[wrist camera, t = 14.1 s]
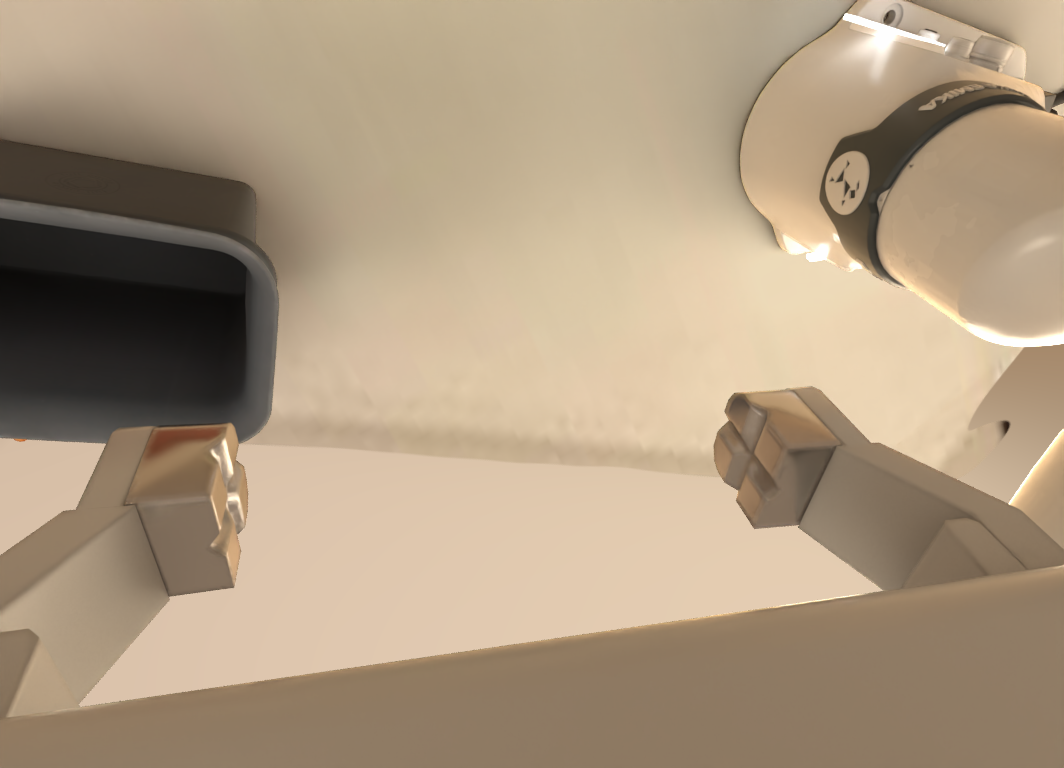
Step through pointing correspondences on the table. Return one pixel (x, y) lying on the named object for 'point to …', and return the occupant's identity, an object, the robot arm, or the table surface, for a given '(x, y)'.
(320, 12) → the table surface
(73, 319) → the storage bin
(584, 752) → the robot arm
